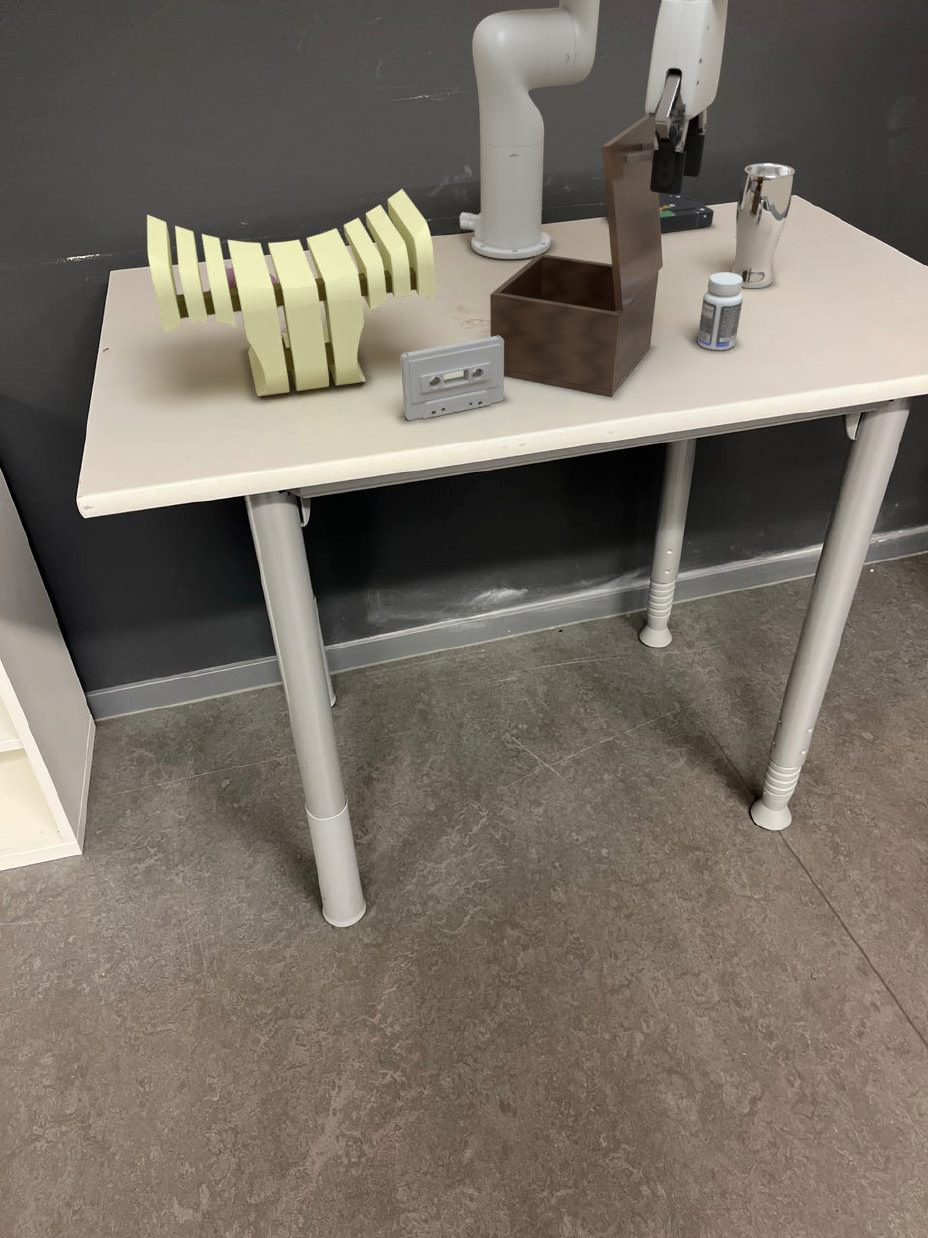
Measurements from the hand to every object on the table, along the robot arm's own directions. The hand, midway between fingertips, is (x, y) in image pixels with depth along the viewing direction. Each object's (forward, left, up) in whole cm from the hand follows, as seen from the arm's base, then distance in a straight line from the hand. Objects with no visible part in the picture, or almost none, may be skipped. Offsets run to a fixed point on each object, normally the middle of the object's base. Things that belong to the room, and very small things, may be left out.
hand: (675, 181), depth 97 cm
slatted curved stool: (-39, -16, -22) cm, 48 cm away
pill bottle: (+5, +12, -22) cm, 26 cm away
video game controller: (-58, -3, -22) cm, 63 cm away
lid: (-4, 0, -4) cm, 6 cm away
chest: (-10, 0, -22) cm, 24 cm away
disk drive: (-16, +55, -22) cm, 61 cm away
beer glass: (+4, +35, -22) cm, 42 cm away
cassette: (-18, -17, -22) cm, 33 cm away
